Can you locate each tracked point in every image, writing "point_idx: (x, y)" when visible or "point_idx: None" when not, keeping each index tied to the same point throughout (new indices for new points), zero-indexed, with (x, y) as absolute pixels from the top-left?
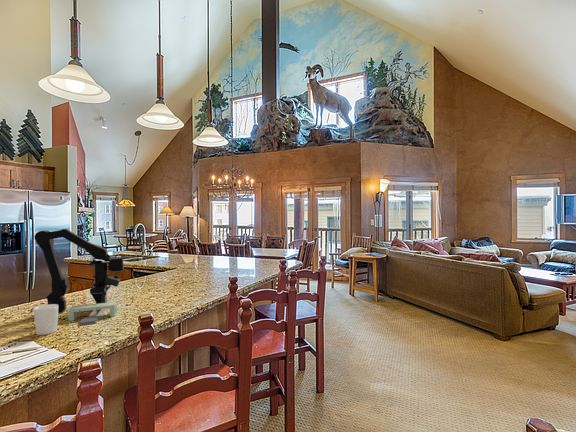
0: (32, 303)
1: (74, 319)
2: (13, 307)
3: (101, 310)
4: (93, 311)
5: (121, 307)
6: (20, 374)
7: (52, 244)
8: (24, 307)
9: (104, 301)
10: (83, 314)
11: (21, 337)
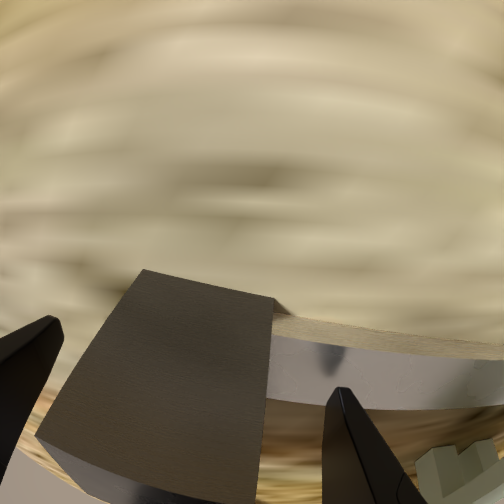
0: (42, 464)
1: (484, 440)
2: (85, 492)
3: (443, 343)
4: (471, 403)
5: (458, 65)
6: None
7: None
8: None
9: (264, 386)
10: (415, 435)
11: None
